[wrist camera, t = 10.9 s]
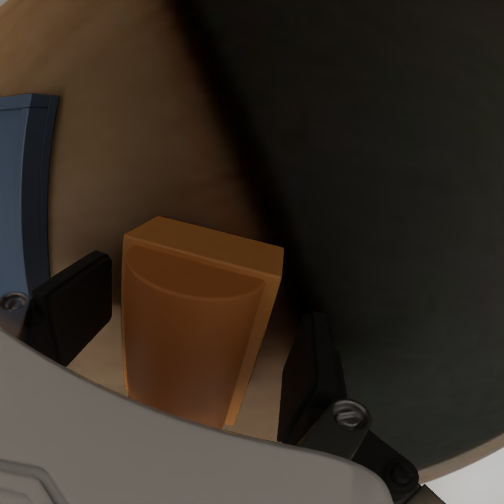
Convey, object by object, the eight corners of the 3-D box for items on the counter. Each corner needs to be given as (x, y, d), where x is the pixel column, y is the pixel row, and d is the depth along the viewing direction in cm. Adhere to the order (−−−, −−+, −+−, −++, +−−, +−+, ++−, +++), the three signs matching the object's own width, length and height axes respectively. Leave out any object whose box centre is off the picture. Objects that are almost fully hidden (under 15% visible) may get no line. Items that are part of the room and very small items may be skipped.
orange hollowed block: (157, 215, 11) (85, 256, 6) (284, 247, 10) (278, 313, 6) (147, 355, 13) (105, 420, 9) (243, 385, 13) (225, 463, 9)
